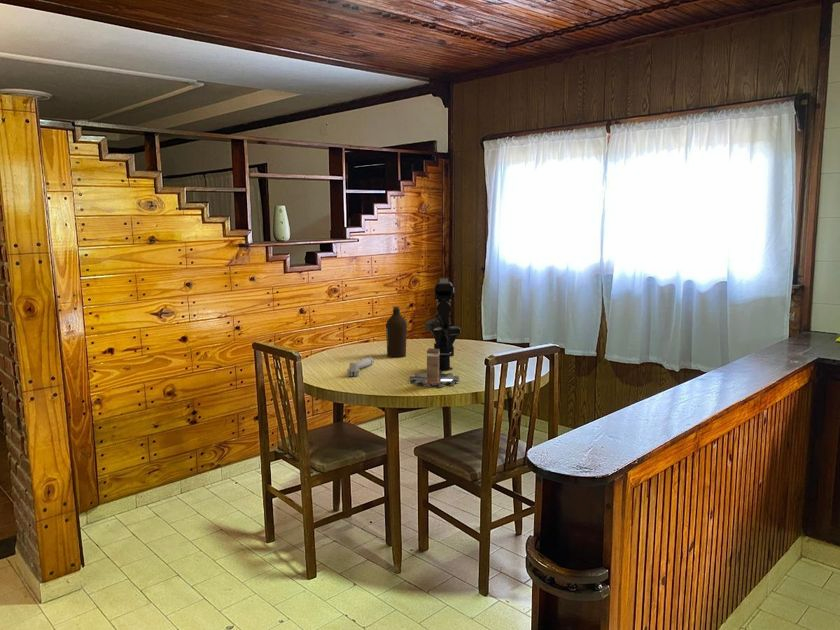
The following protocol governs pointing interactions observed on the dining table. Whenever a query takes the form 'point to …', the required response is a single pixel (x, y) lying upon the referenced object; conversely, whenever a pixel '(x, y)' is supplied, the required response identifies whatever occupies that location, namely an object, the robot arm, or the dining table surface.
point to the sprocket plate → (443, 380)
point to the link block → (433, 365)
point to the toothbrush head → (359, 366)
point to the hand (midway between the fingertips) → (443, 347)
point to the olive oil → (396, 334)
